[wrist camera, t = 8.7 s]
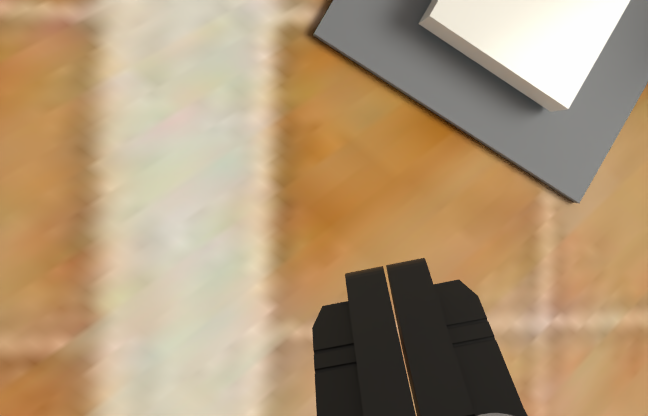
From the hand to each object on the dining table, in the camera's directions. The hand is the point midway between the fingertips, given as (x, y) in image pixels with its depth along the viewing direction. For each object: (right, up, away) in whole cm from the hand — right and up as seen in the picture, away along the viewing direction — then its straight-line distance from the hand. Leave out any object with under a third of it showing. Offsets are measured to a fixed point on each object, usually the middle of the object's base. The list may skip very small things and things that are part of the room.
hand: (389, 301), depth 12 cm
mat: (+8, +11, +19) cm, 23 cm away
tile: (+7, +9, +18) cm, 21 cm away
